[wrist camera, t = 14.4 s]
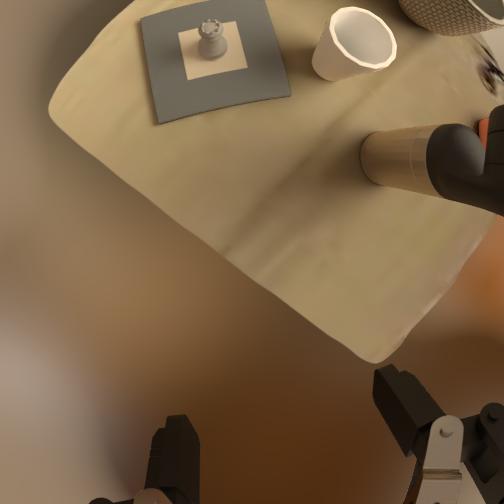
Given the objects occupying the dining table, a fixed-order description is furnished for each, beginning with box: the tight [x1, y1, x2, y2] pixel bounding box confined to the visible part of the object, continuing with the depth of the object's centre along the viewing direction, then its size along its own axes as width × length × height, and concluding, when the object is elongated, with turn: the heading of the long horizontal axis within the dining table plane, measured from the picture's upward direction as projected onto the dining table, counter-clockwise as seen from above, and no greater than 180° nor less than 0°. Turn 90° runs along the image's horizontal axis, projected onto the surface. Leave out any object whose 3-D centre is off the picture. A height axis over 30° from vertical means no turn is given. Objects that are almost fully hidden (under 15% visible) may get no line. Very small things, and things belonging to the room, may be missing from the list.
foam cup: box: [311, 7, 397, 81], centre depth 31 cm, size 10×9×13 cm
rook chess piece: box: [198, 19, 228, 60], centre depth 31 cm, size 4×4×8 cm
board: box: [141, 0, 292, 124], centre depth 35 cm, size 20×20×1 cm
